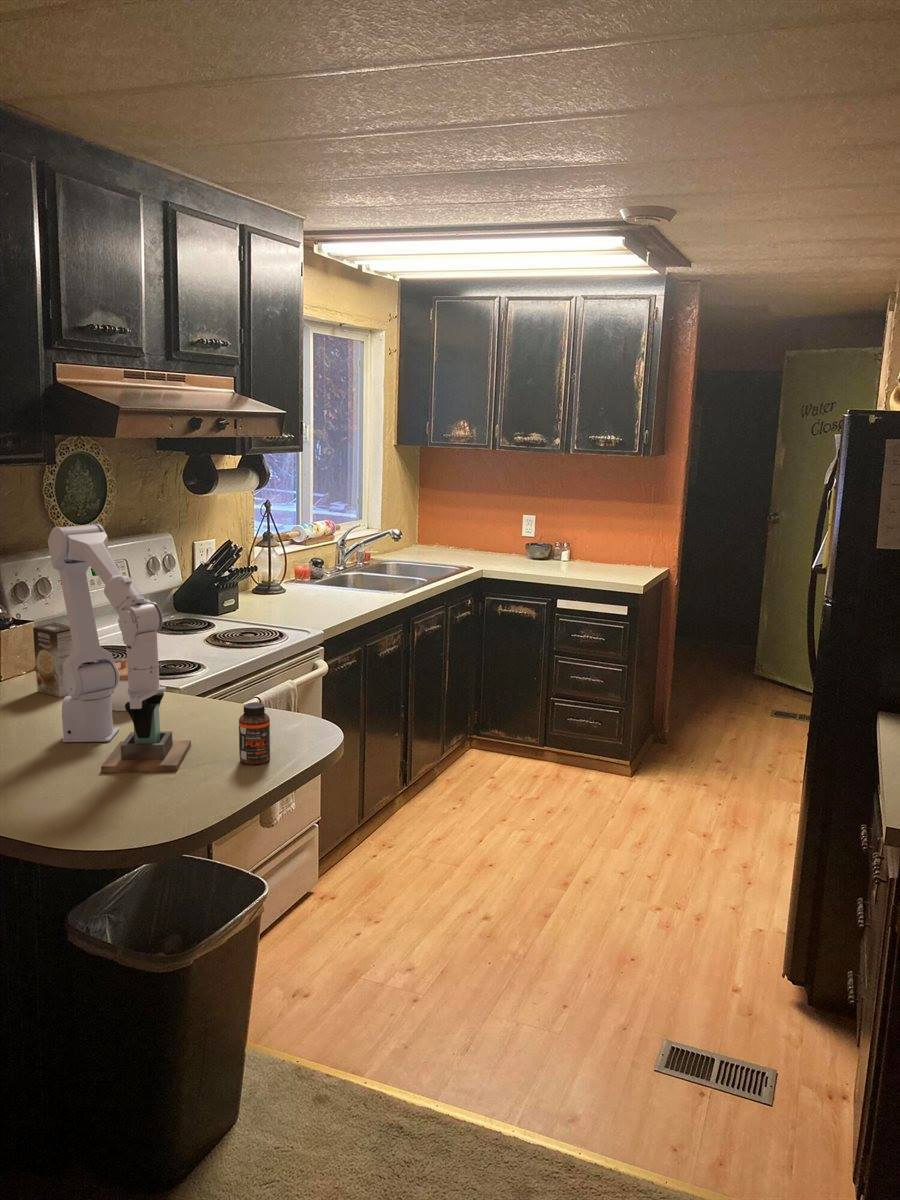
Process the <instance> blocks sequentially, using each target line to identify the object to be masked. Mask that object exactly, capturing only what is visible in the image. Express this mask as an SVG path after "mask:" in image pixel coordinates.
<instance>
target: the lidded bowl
mask: <svg viewBox="0 0 900 1200" xmlns="http://www.w3.org/2000/svg"><path fill="white" fill-rule="evenodd" d="M115 664H116V666H117V668H118V671H119V676H120V678H119V683H118V686H117V687H116V688H115V689H114V693H113V694H111V703H112V711H115V712H116V711H117V712H127V711H126V709H125V704H126V703H127V702H130V697H129V695H128V688H129V687H128V669H127V659H125V658H123V659H120V661H117V662H115Z"/></svg>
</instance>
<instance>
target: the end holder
mask: <svg viewBox="0 0 900 1200" xmlns="http://www.w3.org/2000/svg"><path fill="white" fill-rule="evenodd" d="M160 739H161V741H160V743H138V744H135V741H134V731H130V733H129V734H128V735H127V736H126V737H125V739H124V740H123V741H119V742H118V744H117V745H116V746H115V748H114V749H113V750H112V752H111V753H110V754H109V755H108V757H107V758H106V759H105V760H104V762H103V763H102V765H101V766H100V773H136V772H135V771H141V772H140V773H143V772H142V771H145V772H147V771H149V773H150V772H178V770H179V768H180V766H181V765H182V763H183V761H184V760H185V757H187V755H188V753H189V751H190V749H191V747H192V741H191V740H188V739H187V740H173V731H172V730H169V731H168V730H167V731H166V730H165V731H162V730H160ZM188 750H189V751H188ZM126 771H127V772H126ZM128 771H130V772H128ZM133 771H134V772H133Z"/></svg>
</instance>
